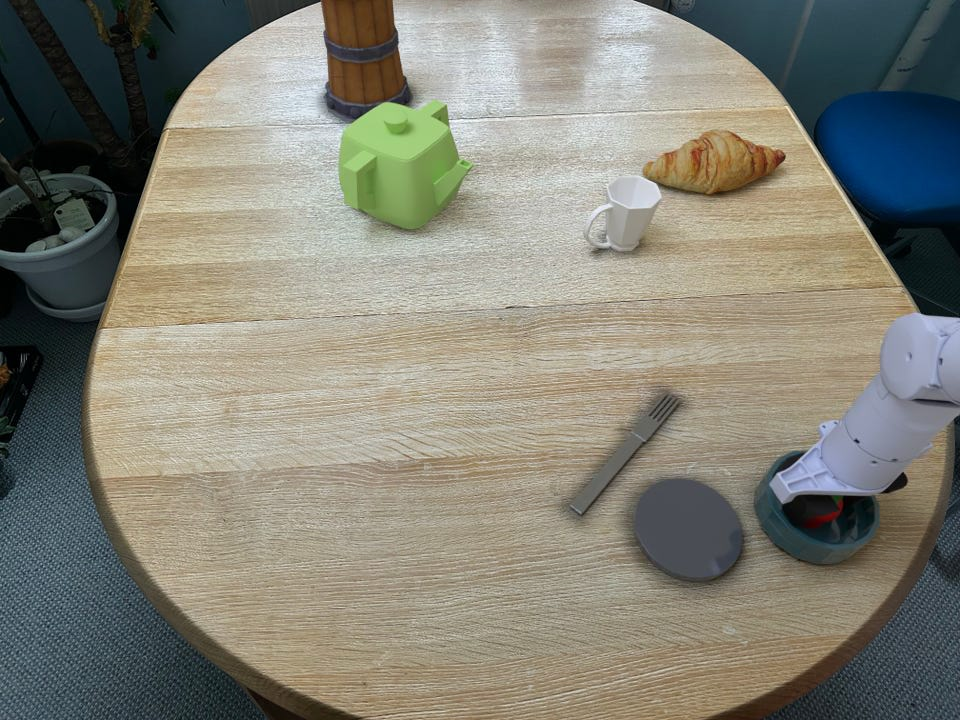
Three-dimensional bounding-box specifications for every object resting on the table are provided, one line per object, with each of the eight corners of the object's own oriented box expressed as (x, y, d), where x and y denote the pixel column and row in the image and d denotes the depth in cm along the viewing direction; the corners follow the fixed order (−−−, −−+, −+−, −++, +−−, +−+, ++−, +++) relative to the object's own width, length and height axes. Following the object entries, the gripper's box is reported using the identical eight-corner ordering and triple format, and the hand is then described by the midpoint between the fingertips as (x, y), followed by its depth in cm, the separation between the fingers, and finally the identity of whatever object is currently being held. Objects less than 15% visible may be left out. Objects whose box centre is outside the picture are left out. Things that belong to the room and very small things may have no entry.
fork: (582, 517, 65) (583, 515, 64) (567, 506, 65) (568, 503, 65) (679, 402, 73) (680, 400, 73) (665, 394, 74) (666, 391, 74)
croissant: (641, 213, 98) (660, 189, 91) (629, 149, 100) (646, 121, 92) (778, 197, 100) (807, 172, 93) (763, 135, 102) (791, 106, 94)
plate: (757, 525, 64) (761, 521, 64) (705, 604, 60) (709, 601, 59) (667, 464, 68) (670, 459, 68) (612, 534, 64) (614, 529, 63)
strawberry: (835, 511, 65) (859, 488, 61) (818, 541, 63) (841, 518, 59) (796, 486, 66) (817, 462, 63) (778, 514, 64) (798, 491, 61)
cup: (659, 248, 89) (674, 199, 82) (595, 272, 86) (606, 223, 79) (628, 217, 92) (640, 168, 86) (566, 239, 89) (574, 189, 83)
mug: (297, 78, 114) (270, -53, 98) (373, 55, 119) (359, -72, 103) (348, 133, 104) (328, -2, 88) (429, 106, 109) (423, -26, 93)
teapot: (509, 192, 95) (514, 108, 85) (423, 273, 85) (418, 188, 75) (406, 148, 102) (400, 64, 91) (315, 218, 91) (296, 133, 81)
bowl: (875, 512, 65) (896, 493, 62) (834, 588, 61) (854, 572, 58) (780, 453, 69) (795, 432, 66) (734, 520, 65) (747, 501, 62)
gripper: (920, 370, 57) (848, 452, 68) (774, 414, 54) (723, 493, 65) (983, 437, 53) (896, 514, 64) (829, 490, 50) (765, 561, 60)
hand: (812, 508), depth 64 cm, fingers open, 4 cm apart
